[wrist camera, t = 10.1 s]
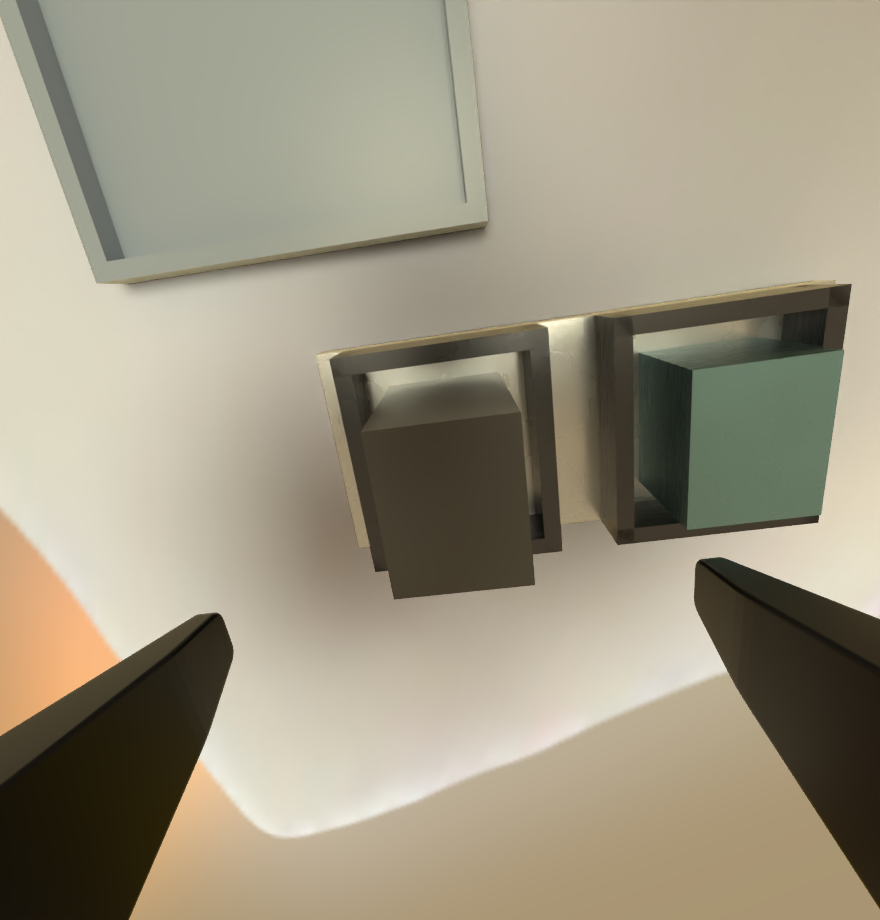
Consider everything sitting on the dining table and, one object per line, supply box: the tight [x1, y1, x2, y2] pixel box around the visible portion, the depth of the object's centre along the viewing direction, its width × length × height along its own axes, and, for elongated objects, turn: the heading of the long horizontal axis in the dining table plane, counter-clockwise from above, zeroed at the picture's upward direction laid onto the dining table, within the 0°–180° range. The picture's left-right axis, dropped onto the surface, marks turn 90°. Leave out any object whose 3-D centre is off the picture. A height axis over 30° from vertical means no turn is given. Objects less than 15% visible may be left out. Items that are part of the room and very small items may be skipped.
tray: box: [0, 0, 488, 284], centre depth 14 cm, size 13×13×2 cm
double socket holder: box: [316, 280, 852, 572], centre depth 16 cm, size 18×8×5 cm, turn 98°
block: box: [361, 372, 535, 599], centre depth 15 cm, size 4×5×6 cm
